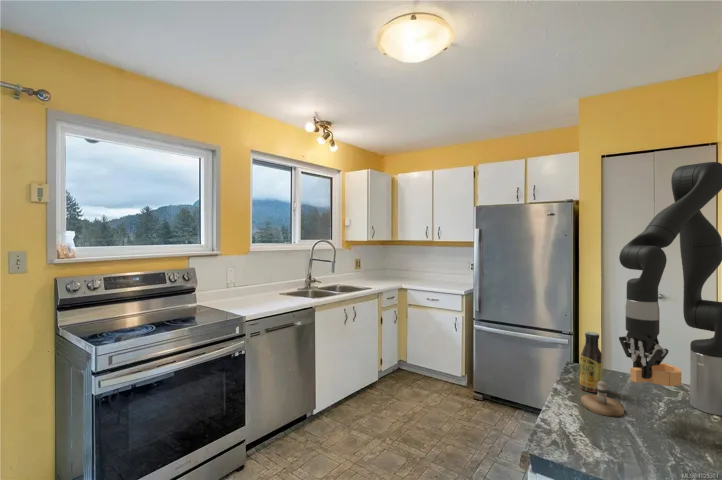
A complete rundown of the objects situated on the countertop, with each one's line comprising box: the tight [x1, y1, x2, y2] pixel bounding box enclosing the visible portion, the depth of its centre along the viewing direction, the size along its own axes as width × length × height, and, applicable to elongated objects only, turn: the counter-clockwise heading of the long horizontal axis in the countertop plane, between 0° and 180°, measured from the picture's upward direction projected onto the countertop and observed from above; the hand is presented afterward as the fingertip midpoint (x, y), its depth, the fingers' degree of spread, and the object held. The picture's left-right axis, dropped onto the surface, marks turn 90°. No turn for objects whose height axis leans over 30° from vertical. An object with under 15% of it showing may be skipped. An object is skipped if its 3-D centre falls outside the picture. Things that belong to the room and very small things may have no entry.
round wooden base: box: [580, 380, 625, 417], centre depth 109 cm, size 11×11×8 cm
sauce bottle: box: [579, 331, 603, 393], centre depth 122 cm, size 7×6×20 cm
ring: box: [629, 362, 682, 387], centre depth 100 cm, size 13×9×4 cm
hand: (642, 376), depth 100 cm, fingers closed on ring
